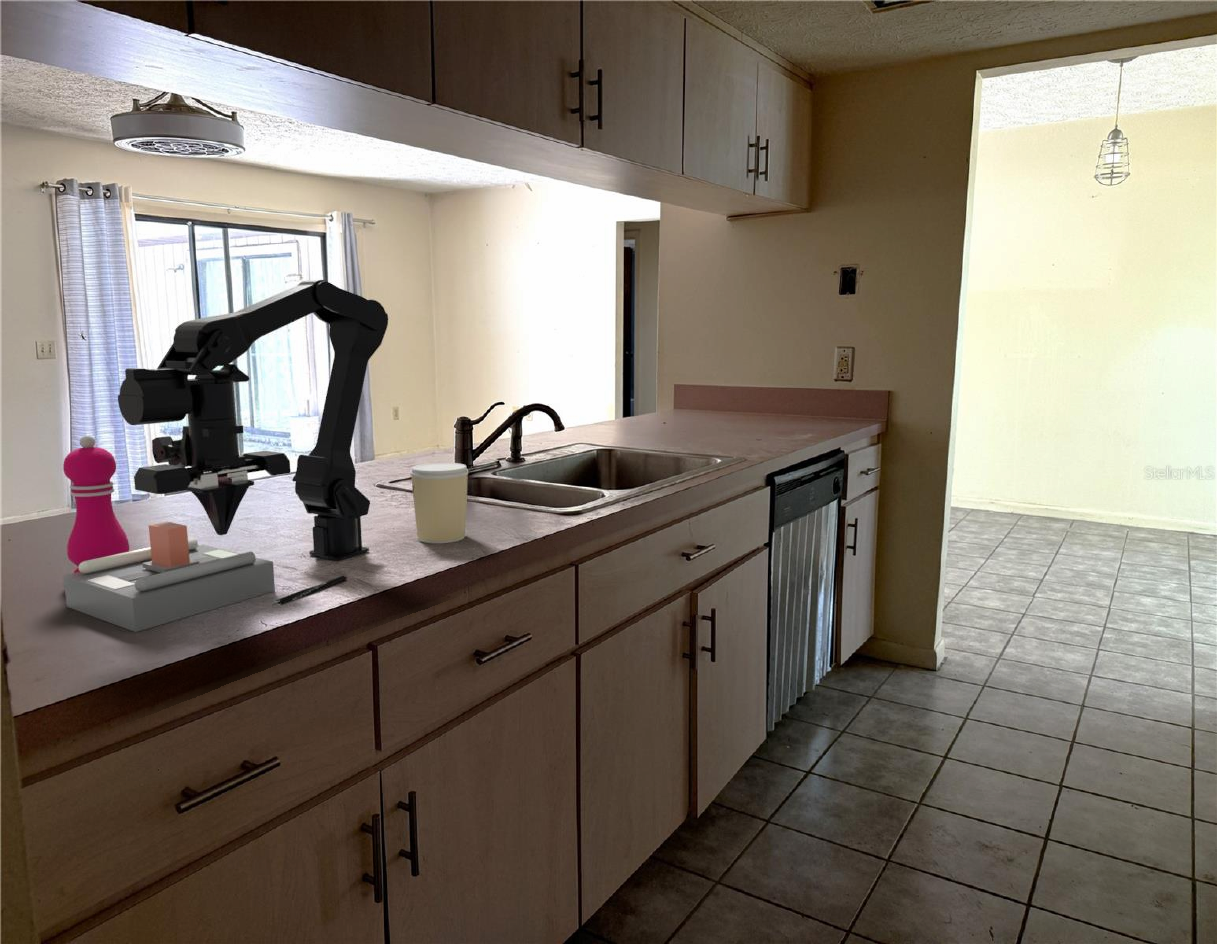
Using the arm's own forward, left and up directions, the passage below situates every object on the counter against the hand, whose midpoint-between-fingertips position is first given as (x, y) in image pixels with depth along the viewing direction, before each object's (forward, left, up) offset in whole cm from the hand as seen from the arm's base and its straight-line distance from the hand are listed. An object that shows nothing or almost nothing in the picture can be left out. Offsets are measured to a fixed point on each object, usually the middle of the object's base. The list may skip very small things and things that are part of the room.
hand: (221, 534), depth 109 cm
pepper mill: (+8, -16, -7) cm, 19 cm away
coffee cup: (-35, +6, -7) cm, 36 cm away
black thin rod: (-4, +12, -8) cm, 15 cm away
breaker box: (+7, 0, -7) cm, 10 cm away
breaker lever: (+7, 0, -3) cm, 8 cm away
